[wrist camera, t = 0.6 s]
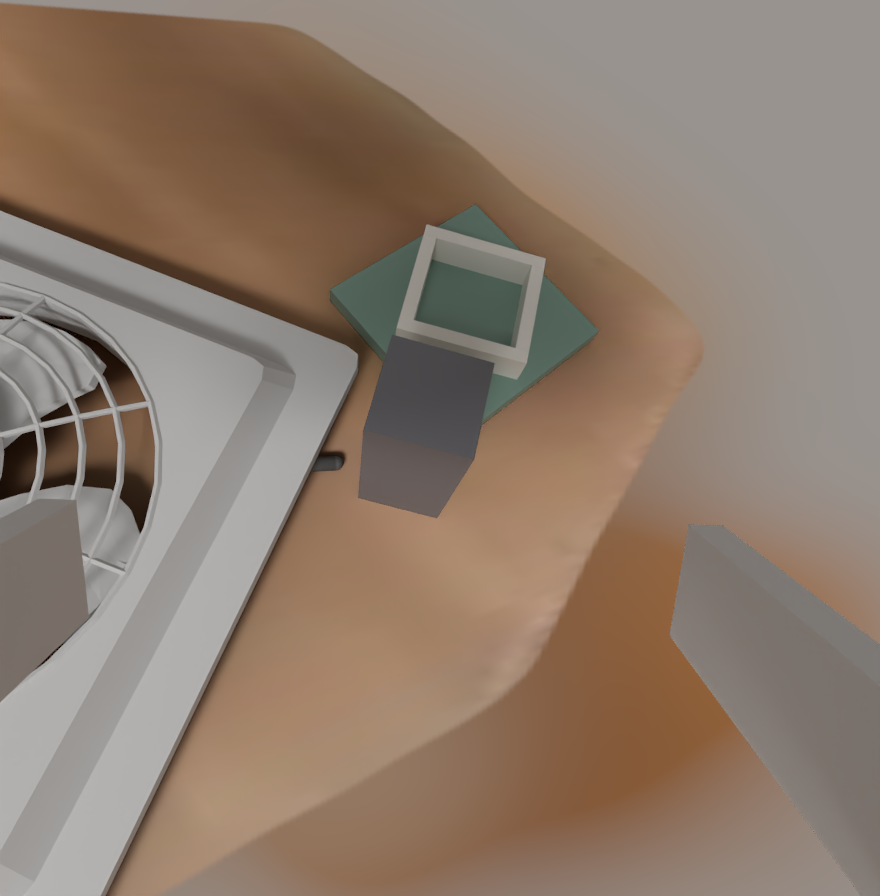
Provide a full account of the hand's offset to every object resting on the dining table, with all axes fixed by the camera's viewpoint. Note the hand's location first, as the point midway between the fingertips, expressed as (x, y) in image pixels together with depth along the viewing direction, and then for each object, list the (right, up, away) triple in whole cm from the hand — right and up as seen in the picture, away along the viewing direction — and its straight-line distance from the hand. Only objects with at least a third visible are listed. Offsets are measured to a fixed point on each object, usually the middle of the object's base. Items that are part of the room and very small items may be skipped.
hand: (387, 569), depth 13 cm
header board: (+3, +11, +24) cm, 27 cm away
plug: (-1, +1, +20) cm, 20 cm away
